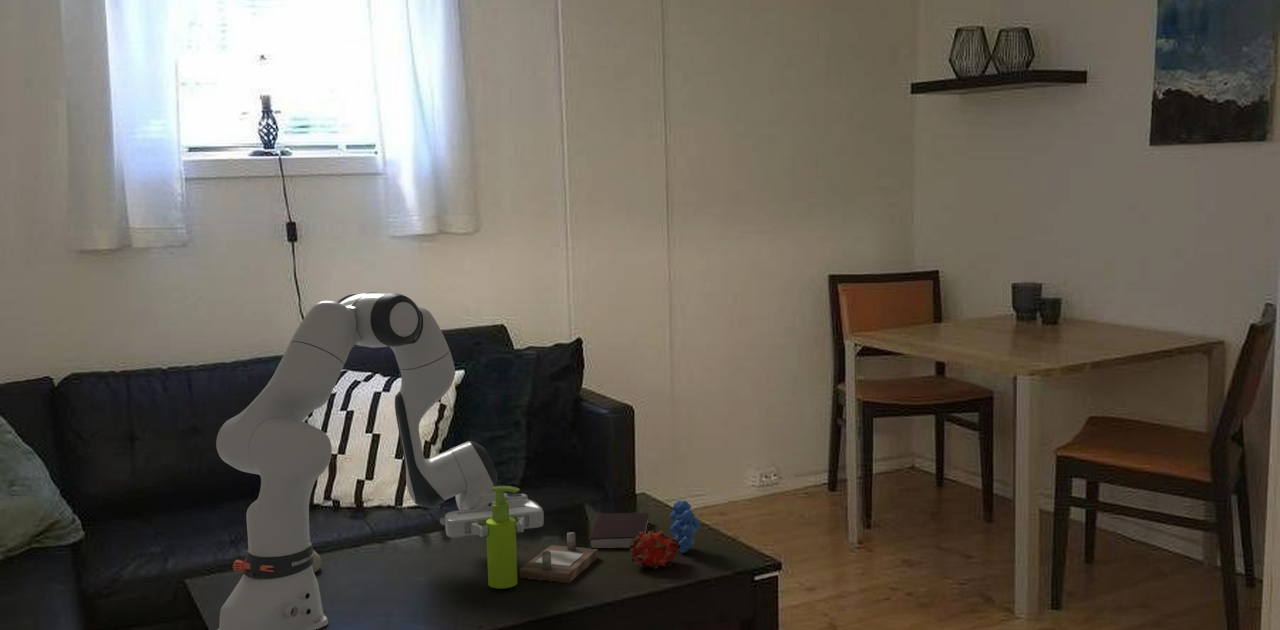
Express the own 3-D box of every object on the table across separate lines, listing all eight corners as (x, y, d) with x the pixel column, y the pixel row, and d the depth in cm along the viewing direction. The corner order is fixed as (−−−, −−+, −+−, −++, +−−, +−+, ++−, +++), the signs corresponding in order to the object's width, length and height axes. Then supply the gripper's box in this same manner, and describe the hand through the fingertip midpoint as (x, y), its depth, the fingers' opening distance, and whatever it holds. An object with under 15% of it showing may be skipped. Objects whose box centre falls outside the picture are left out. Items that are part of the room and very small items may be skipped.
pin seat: (568, 583, 229) (568, 557, 228) (520, 578, 233) (519, 552, 232) (597, 558, 244) (597, 533, 243) (551, 553, 248) (550, 529, 247)
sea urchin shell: (265, 570, 236) (279, 536, 241) (282, 586, 242) (296, 552, 247) (302, 573, 233) (316, 538, 238) (319, 590, 239) (332, 555, 244)
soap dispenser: (517, 589, 224) (514, 491, 221) (484, 587, 225) (480, 490, 223) (526, 579, 229) (523, 483, 227) (493, 577, 231) (490, 482, 228)
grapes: (711, 558, 242) (710, 504, 241) (681, 562, 240) (680, 507, 239) (692, 542, 253) (691, 490, 252) (664, 545, 251) (663, 493, 250)
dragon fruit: (624, 576, 237) (676, 576, 241) (638, 563, 230) (691, 563, 235) (619, 537, 241) (670, 538, 246) (633, 523, 235) (685, 524, 239)
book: (588, 551, 250) (587, 537, 250) (597, 524, 270) (597, 511, 269) (644, 551, 250) (644, 537, 249) (649, 524, 269) (649, 511, 268)
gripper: (437, 503, 234) (450, 521, 221) (532, 492, 241) (550, 509, 228) (438, 532, 234) (451, 552, 222) (533, 521, 242) (551, 540, 229)
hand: (502, 530), depth 225 cm, fingers closed on soap dispenser, 6 cm apart
